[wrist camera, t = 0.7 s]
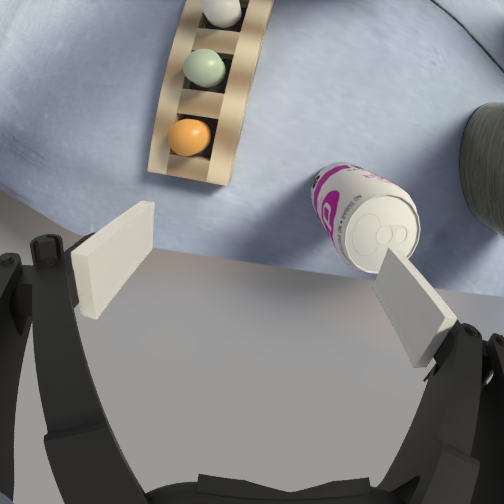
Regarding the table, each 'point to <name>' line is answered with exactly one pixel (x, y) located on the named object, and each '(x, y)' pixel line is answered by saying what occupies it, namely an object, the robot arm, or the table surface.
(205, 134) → the button orange
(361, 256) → the supplement can
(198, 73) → the button green
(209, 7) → the button white
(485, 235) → the table surface
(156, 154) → the wooden ball rack
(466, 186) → the planter
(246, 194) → the table surface
